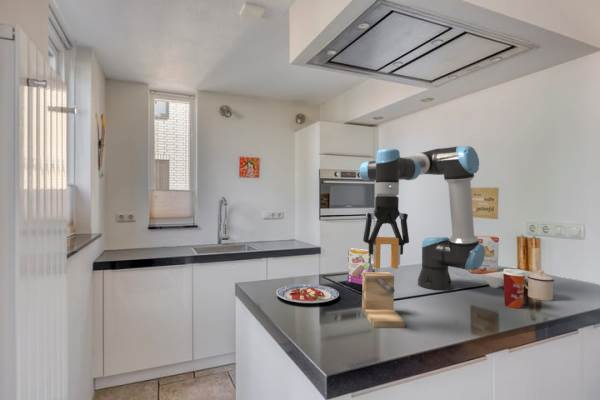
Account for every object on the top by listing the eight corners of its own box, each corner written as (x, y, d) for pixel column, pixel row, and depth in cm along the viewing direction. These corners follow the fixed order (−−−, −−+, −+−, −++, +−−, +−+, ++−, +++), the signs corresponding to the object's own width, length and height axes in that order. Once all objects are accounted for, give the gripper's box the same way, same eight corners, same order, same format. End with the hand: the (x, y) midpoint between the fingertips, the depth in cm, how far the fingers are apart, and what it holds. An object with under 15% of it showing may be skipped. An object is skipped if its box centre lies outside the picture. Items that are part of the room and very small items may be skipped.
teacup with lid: (558, 300, 137) (559, 272, 137) (543, 302, 134) (543, 273, 134) (530, 292, 148) (531, 266, 148) (515, 293, 145) (516, 267, 145)
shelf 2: (541, 284, 164) (541, 273, 164) (505, 291, 150) (505, 279, 150) (517, 278, 174) (517, 269, 174) (481, 285, 160) (482, 274, 160)
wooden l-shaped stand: (361, 310, 120) (362, 272, 120) (388, 310, 121) (389, 272, 121) (374, 329, 103) (375, 284, 103) (406, 329, 104) (407, 285, 103)
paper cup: (517, 310, 123) (518, 273, 123) (497, 304, 130) (498, 269, 130) (529, 307, 127) (530, 271, 127) (509, 301, 133) (509, 267, 133)
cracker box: (471, 273, 184) (472, 236, 184) (467, 271, 190) (468, 235, 190) (498, 274, 182) (499, 237, 182) (493, 272, 188) (494, 236, 188)
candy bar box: (347, 282, 160) (347, 249, 160) (351, 280, 164) (351, 247, 164) (369, 286, 154) (369, 251, 154) (372, 284, 158) (373, 250, 158)
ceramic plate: (267, 292, 142) (268, 285, 142) (320, 286, 153) (320, 280, 153) (290, 311, 119) (290, 303, 119) (350, 303, 129) (351, 295, 129)
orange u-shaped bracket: (373, 266, 111) (373, 236, 111) (395, 266, 111) (395, 237, 111) (375, 268, 108) (376, 238, 108) (398, 268, 108) (398, 238, 108)
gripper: (359, 195, 105) (357, 266, 105) (421, 196, 106) (420, 266, 106) (354, 195, 113) (352, 261, 113) (412, 196, 114) (411, 262, 114)
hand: (385, 264), depth 109 cm, fingers closed on orange u-shaped bracket, 7 cm apart
